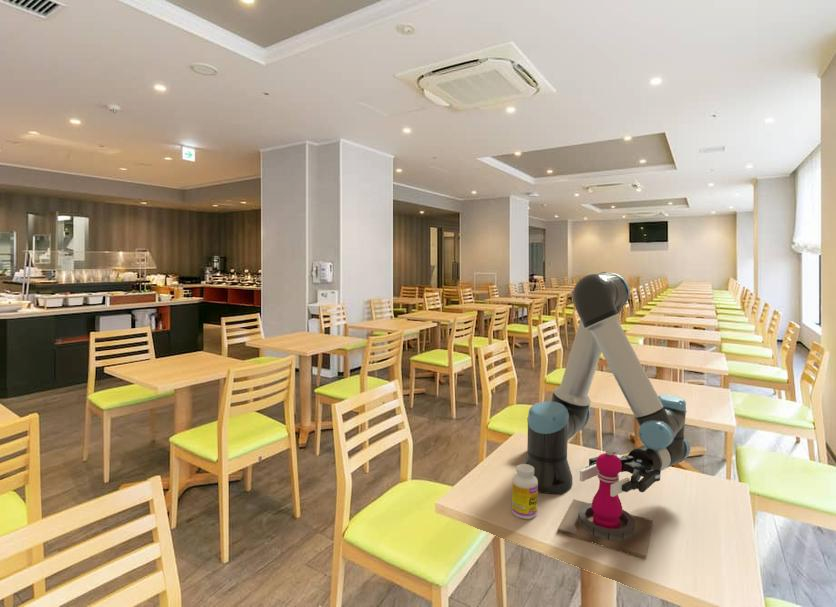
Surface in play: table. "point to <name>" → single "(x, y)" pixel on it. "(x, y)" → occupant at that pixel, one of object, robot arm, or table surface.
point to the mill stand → (607, 530)
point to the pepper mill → (607, 492)
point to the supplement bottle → (524, 492)
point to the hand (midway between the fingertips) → (595, 483)
